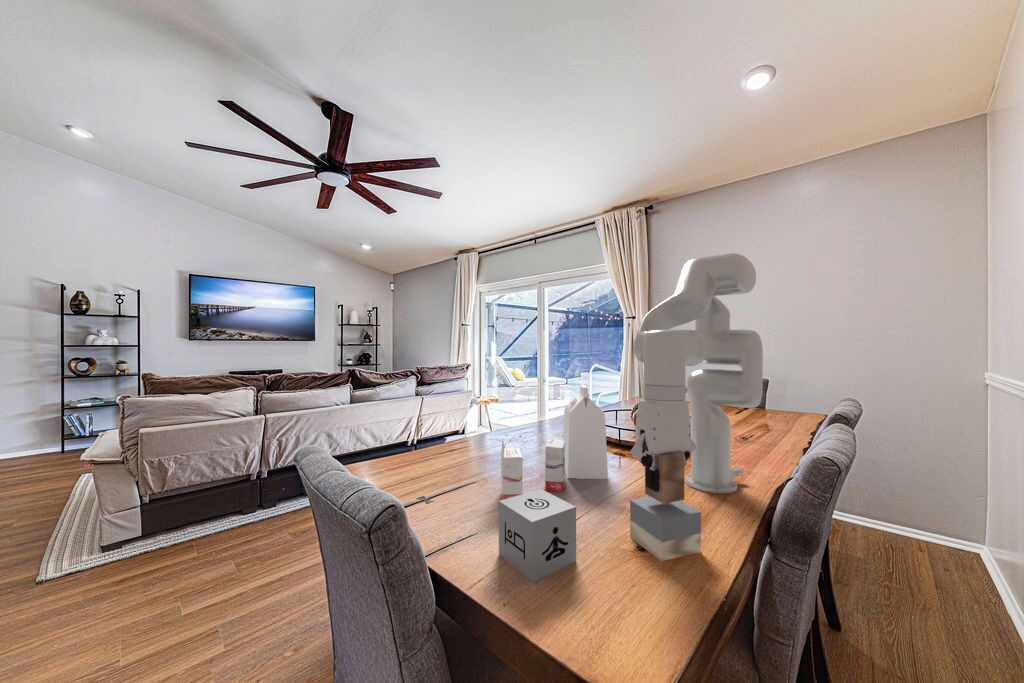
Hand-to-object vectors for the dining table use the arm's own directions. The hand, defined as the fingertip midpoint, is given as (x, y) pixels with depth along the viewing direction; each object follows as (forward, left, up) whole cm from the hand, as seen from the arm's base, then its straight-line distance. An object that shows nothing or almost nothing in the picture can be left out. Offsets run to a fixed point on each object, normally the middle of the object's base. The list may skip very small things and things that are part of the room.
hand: (664, 486), depth 73 cm
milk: (-6, -41, -12) cm, 43 cm away
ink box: (+7, -34, -12) cm, 37 cm away
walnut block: (0, 0, -2) cm, 2 cm away
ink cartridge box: (+21, -30, -12) cm, 38 cm away
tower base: (0, 0, -12) cm, 12 cm away
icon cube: (+25, -4, -12) cm, 28 cm away
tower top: (0, 0, -8) cm, 8 cm away
